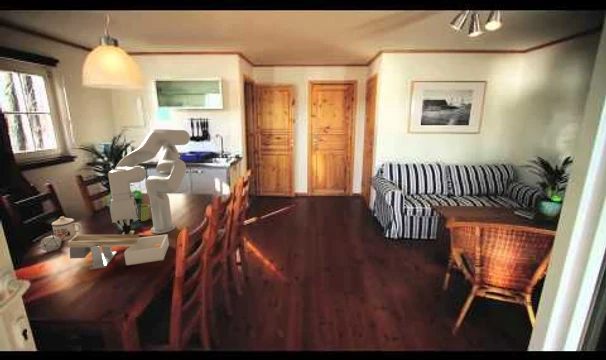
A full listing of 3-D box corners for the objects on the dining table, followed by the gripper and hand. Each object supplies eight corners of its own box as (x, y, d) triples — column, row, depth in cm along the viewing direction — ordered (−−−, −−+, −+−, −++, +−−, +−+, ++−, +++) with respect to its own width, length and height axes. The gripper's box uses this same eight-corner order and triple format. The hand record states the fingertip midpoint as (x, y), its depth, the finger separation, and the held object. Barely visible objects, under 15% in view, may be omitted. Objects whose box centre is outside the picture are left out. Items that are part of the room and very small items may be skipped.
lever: (85, 242, 125) (85, 227, 123) (143, 241, 132) (143, 227, 131) (67, 259, 110) (67, 242, 108) (134, 257, 118) (134, 241, 116)
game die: (49, 260, 125) (26, 249, 119) (57, 246, 132) (37, 235, 126) (64, 251, 125) (42, 239, 119) (72, 238, 132) (52, 226, 125)
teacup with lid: (51, 242, 135) (46, 221, 132) (60, 235, 144) (56, 215, 141) (79, 239, 139) (74, 218, 136) (86, 232, 147) (83, 212, 145)
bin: (135, 249, 128) (133, 238, 126) (168, 245, 132) (167, 234, 131) (126, 265, 114) (124, 252, 113) (163, 259, 118) (161, 247, 117)
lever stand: (101, 254, 123) (98, 236, 121) (116, 252, 125) (113, 234, 122) (89, 269, 111) (85, 249, 109) (106, 267, 113) (102, 247, 110)
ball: (161, 240, 125) (166, 247, 127) (153, 245, 125) (158, 251, 126) (159, 244, 122) (164, 251, 123) (151, 249, 121) (156, 255, 122)
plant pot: (130, 221, 163) (128, 207, 161) (145, 216, 171) (143, 203, 169) (139, 223, 159) (137, 210, 157) (154, 218, 167) (152, 205, 165)
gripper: (142, 192, 128) (146, 227, 132) (106, 195, 124) (112, 231, 128) (137, 196, 121) (143, 233, 125) (99, 199, 117) (106, 237, 121)
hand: (127, 232), depth 127 cm, fingers closed
